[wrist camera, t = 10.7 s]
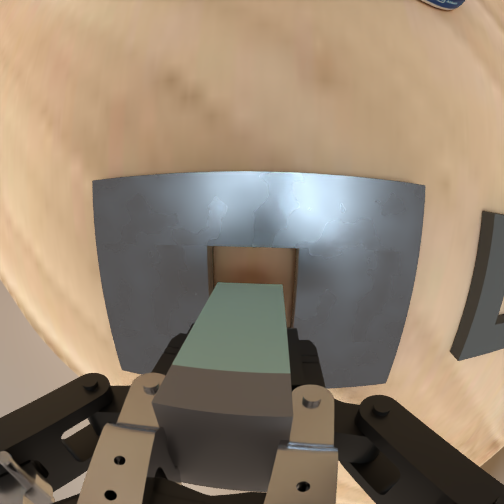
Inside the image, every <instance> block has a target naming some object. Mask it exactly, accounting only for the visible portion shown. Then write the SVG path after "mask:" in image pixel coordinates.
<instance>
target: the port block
mask: <svg viewBox="0 0 504 504" xmlns="http://www.w3.org/2000/svg"><path fill="white" fill-rule="evenodd" d="M92 182H93V210H94V225H95V236H96V246H97V255H98V262H99V269H100V276H101V282H102V288H103V294H104V299H105V304H106V309H107V314H108V319H109V323H110V327H111V332H112V336H113V340H114V344H115V347H116V351H117V355H118V358H119V362H120V365H121V368H122V370H124V371H129V372H133V373H138V374H146V373H151V372H152V370H153V369H154V367H155V365H156V364H157V362H158V360H159V359H160V357H161V355H162V354H163V353H164V350H165V349H166V348H167V346H168V344H169V342H170V341H171V339H172V338H174V337H175V336H177V335H178V334H179V333H184V334H187V332H188V330H189V329H190V327H191V325H192V323H195V322H196V320H197V318H198V316H199V315H200V313H201V311H202V309H203V308H204V306H205V304H206V302H207V300H208V299H209V297H210V295H211V293H212V292H213V290H214V275H213V246H235V247H271V248H296V266H295V281H294V296H293V309H292V321H291V328H297V331H298V338H299V340H310V341H311V342H312V343H313V344H314V345H315V346H316V348H317V353H318V357H319V361H320V365H321V370H322V374H323V378H324V383H325V387H326V388H343V387H356V386H366V385H376V384H384V383H386V381H387V379H388V376H389V373H390V370H391V367H392V364H393V361H394V358H395V355H396V352H397V349H398V346H399V342H400V339H401V335H402V332H403V328H404V325H405V321H406V317H407V313H408V309H409V304H410V300H411V295H412V291H413V286H414V281H415V275H416V270H417V264H418V257H419V251H420V243H421V235H422V226H423V216H424V202H425V185H419V184H412V183H405V182H398V181H390V180H382V179H373V178H364V177H353V176H342V175H329V174H313V173H293V172H252V171H231V172H190V173H170V174H155V175H142V176H130V177H120V178H111V179H102V180H94V181H92Z"/></svg>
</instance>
